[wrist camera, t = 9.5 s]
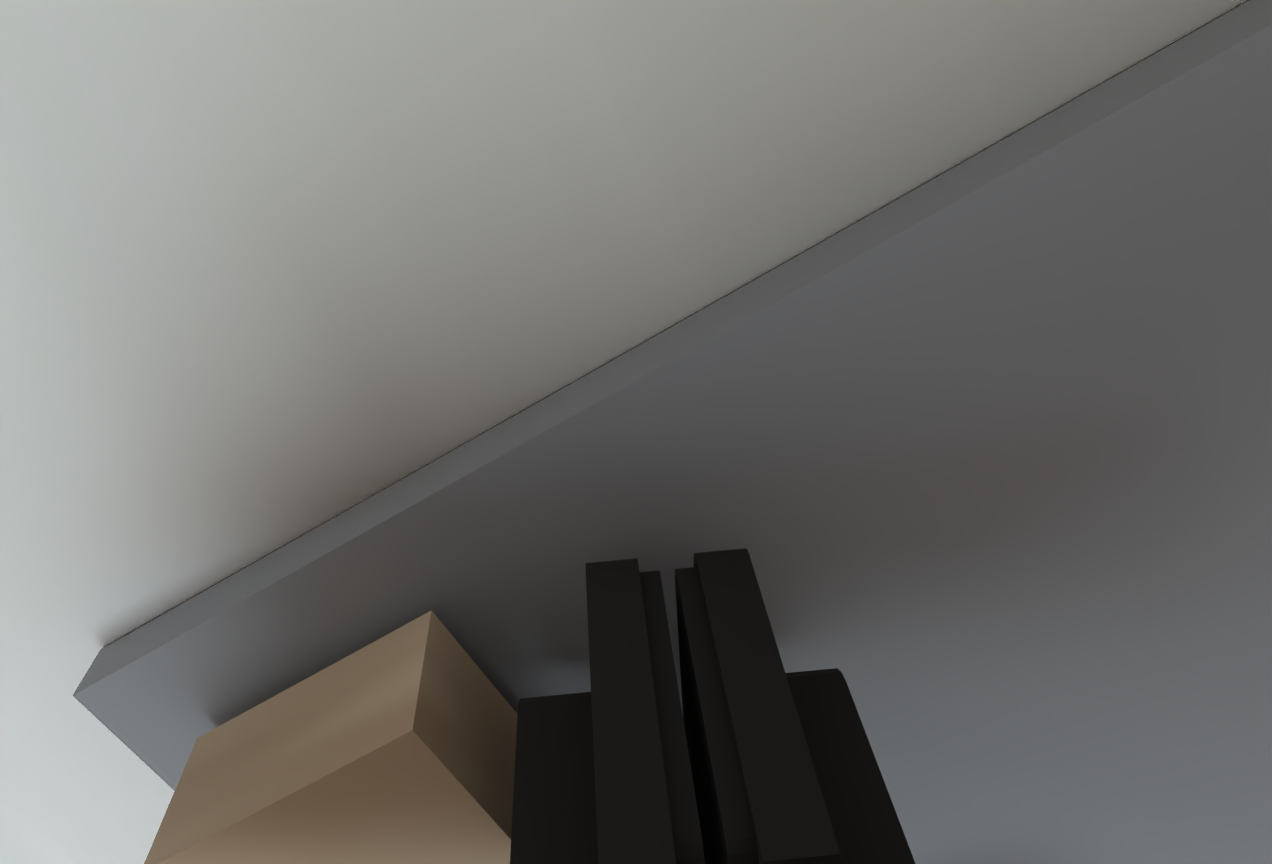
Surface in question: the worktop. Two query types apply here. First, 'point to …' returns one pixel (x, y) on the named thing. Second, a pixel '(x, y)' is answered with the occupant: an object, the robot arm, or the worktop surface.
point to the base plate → (892, 493)
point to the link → (356, 766)
